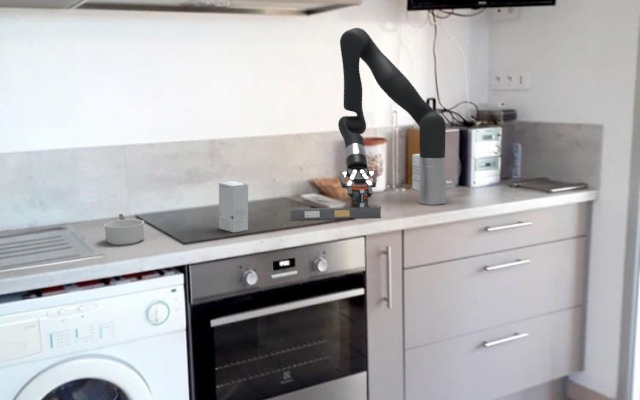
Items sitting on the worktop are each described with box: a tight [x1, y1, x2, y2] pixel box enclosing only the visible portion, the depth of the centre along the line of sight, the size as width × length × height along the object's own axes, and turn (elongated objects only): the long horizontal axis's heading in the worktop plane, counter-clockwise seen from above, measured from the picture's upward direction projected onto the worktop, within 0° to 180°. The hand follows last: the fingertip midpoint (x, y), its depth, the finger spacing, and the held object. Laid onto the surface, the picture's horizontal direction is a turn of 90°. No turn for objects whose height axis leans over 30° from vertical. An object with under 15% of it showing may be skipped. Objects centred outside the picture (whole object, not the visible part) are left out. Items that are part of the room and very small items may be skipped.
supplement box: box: [411, 153, 420, 192], centre depth 267 cm, size 9×9×15 cm
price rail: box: [290, 206, 382, 221], centre depth 213 cm, size 30×2×4 cm, turn 94°
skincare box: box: [218, 180, 249, 233], centre depth 199 cm, size 8×6×15 cm
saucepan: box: [103, 213, 145, 246], centre depth 190 cm, size 12×20×6 cm, turn 21°
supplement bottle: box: [350, 177, 369, 207], centre depth 228 cm, size 6×6×11 cm
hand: (360, 195), depth 227 cm, fingers closed on supplement bottle, 6 cm apart
